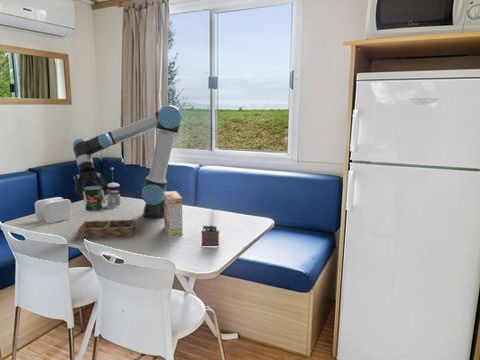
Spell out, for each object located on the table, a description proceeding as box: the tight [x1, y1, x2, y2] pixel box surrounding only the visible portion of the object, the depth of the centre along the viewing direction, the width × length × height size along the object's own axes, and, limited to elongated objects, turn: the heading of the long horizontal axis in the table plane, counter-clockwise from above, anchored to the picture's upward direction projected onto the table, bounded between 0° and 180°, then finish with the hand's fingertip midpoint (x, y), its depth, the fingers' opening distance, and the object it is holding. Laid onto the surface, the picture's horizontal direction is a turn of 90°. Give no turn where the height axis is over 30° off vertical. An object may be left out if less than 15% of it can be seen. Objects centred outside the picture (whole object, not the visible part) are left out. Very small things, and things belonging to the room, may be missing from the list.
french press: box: [105, 167, 123, 209], centre depth 224 cm, size 10×12×25 cm
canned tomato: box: [83, 185, 103, 212], centre depth 175 cm, size 8×8×11 cm
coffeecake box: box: [163, 190, 183, 237], centre depth 182 cm, size 15×7×20 cm, turn 21°
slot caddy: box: [77, 219, 137, 239], centre depth 179 cm, size 25×13×4 cm, turn 100°
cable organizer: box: [34, 196, 73, 224], centre depth 197 cm, size 15×11×12 cm
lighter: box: [201, 224, 220, 247], centre depth 164 cm, size 8×3×10 cm, turn 92°
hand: (95, 203), depth 172 cm, fingers closed on canned tomato, 8 cm apart
